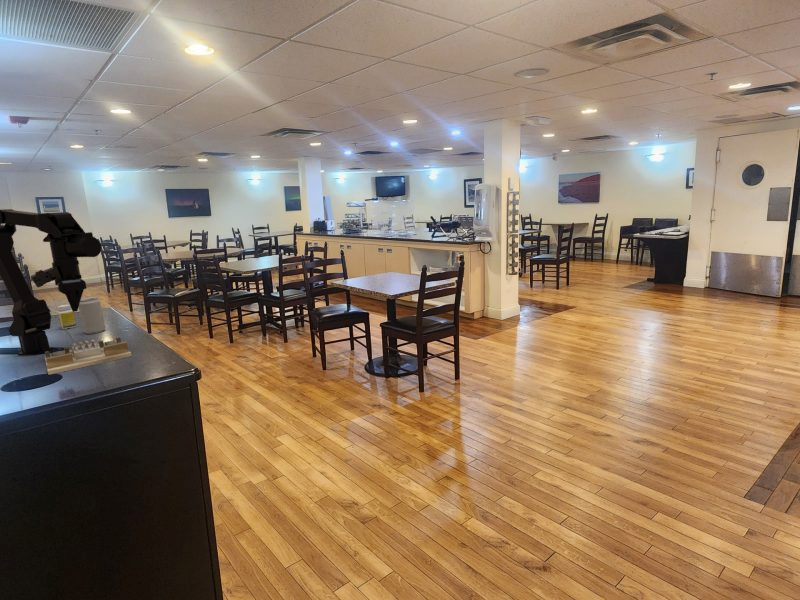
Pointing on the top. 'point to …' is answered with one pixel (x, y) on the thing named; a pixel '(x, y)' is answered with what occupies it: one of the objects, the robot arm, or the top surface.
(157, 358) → the top surface
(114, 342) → the strap
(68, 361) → the heatsink board
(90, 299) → the beverage can
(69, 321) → the supplement bottle
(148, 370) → the top surface
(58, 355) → the strap
